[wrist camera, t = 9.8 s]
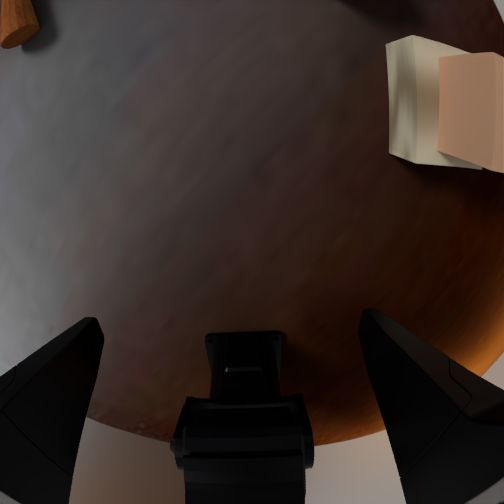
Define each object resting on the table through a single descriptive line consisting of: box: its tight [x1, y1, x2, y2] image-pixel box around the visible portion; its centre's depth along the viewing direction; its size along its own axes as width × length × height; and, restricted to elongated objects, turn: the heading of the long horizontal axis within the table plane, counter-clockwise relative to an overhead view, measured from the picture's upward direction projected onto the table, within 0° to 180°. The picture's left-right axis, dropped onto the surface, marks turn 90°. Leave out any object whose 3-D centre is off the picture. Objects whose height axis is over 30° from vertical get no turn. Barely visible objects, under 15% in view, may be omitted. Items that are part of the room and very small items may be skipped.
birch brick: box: [386, 35, 482, 170], centre depth 15 cm, size 8×6×4 cm
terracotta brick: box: [437, 52, 504, 173], centre depth 11 cm, size 6×4×5 cm, turn 1°
